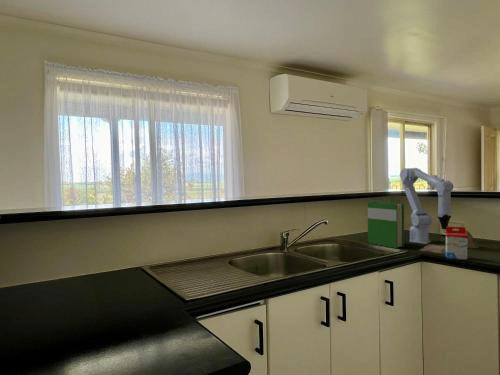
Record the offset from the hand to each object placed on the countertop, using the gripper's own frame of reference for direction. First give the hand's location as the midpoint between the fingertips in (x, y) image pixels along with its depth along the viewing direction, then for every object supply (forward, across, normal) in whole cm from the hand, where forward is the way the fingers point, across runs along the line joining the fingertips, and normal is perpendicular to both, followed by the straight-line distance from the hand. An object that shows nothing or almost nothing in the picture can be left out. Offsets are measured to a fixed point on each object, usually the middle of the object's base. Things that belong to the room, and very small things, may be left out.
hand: (444, 229), depth 190 cm
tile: (+9, -6, +2) cm, 11 cm away
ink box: (+10, -21, -11) cm, 26 cm away
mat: (+10, -10, +2) cm, 14 cm away
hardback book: (+10, -14, +26) cm, 31 cm away
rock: (+10, +7, -9) cm, 15 cm away
